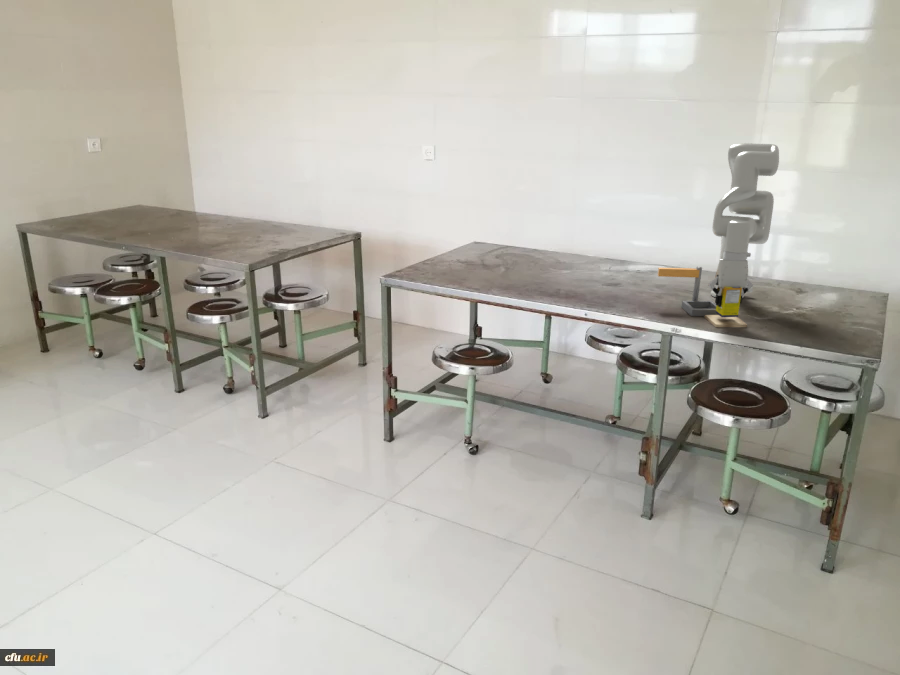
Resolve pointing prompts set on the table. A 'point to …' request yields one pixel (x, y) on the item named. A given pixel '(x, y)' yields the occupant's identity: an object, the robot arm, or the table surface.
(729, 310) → the supplement box
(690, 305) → the socket collar
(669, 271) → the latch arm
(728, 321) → the oak board
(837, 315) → the table surface
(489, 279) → the table surface
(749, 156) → the robot arm
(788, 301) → the table surface
